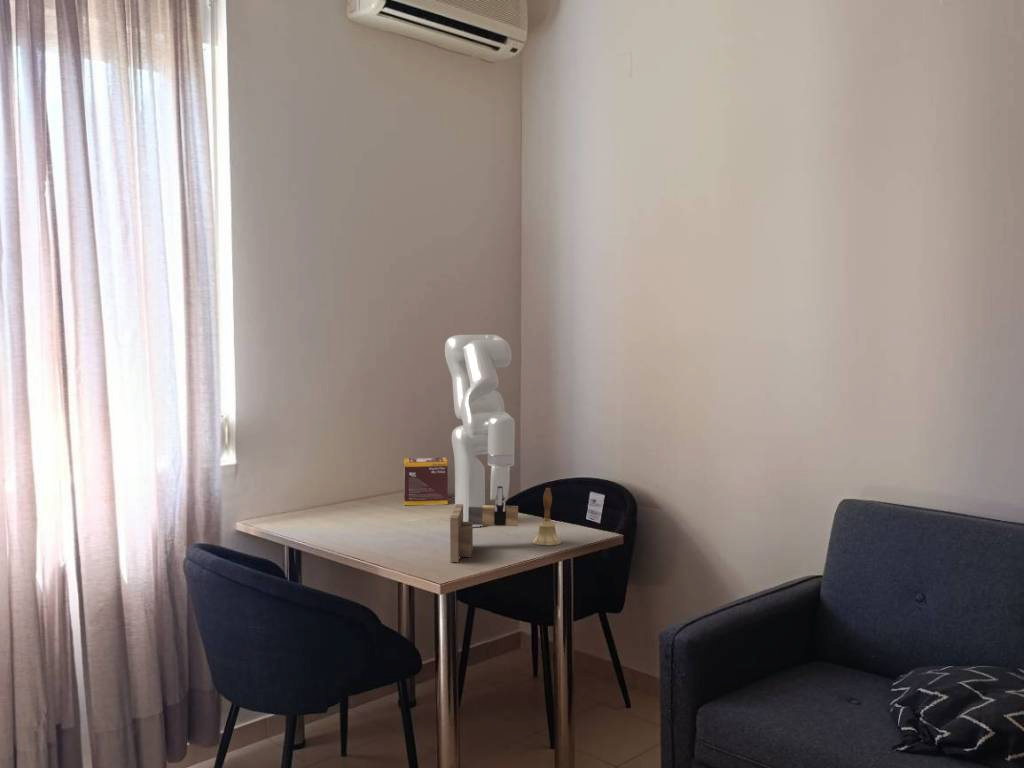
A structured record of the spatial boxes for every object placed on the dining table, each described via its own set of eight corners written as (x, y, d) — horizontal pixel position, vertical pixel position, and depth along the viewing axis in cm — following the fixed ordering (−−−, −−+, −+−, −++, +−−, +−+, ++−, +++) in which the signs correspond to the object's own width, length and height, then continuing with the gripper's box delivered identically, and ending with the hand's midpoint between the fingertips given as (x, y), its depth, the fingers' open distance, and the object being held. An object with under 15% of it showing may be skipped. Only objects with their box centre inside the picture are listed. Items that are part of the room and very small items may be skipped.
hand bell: (541, 538, 278) (541, 484, 277) (566, 541, 274) (566, 487, 273) (527, 543, 271) (527, 489, 270) (552, 547, 267) (552, 491, 266)
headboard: (456, 545, 269) (456, 503, 268) (473, 545, 269) (473, 503, 268) (450, 562, 249) (450, 517, 248) (469, 562, 249) (469, 518, 248)
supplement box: (448, 504, 332) (448, 460, 331) (404, 506, 330) (404, 461, 329) (446, 499, 342) (446, 457, 341) (403, 500, 340) (403, 457, 339)
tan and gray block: (469, 522, 269) (469, 505, 269) (517, 523, 269) (518, 505, 269) (468, 525, 266) (468, 507, 265) (517, 526, 266) (517, 508, 265)
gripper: (488, 454, 274) (488, 515, 276) (486, 465, 257) (485, 530, 259) (514, 454, 274) (513, 516, 276) (513, 465, 257) (512, 531, 259)
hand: (500, 522), depth 267 cm, fingers closed on tan and gray block, 3 cm apart
